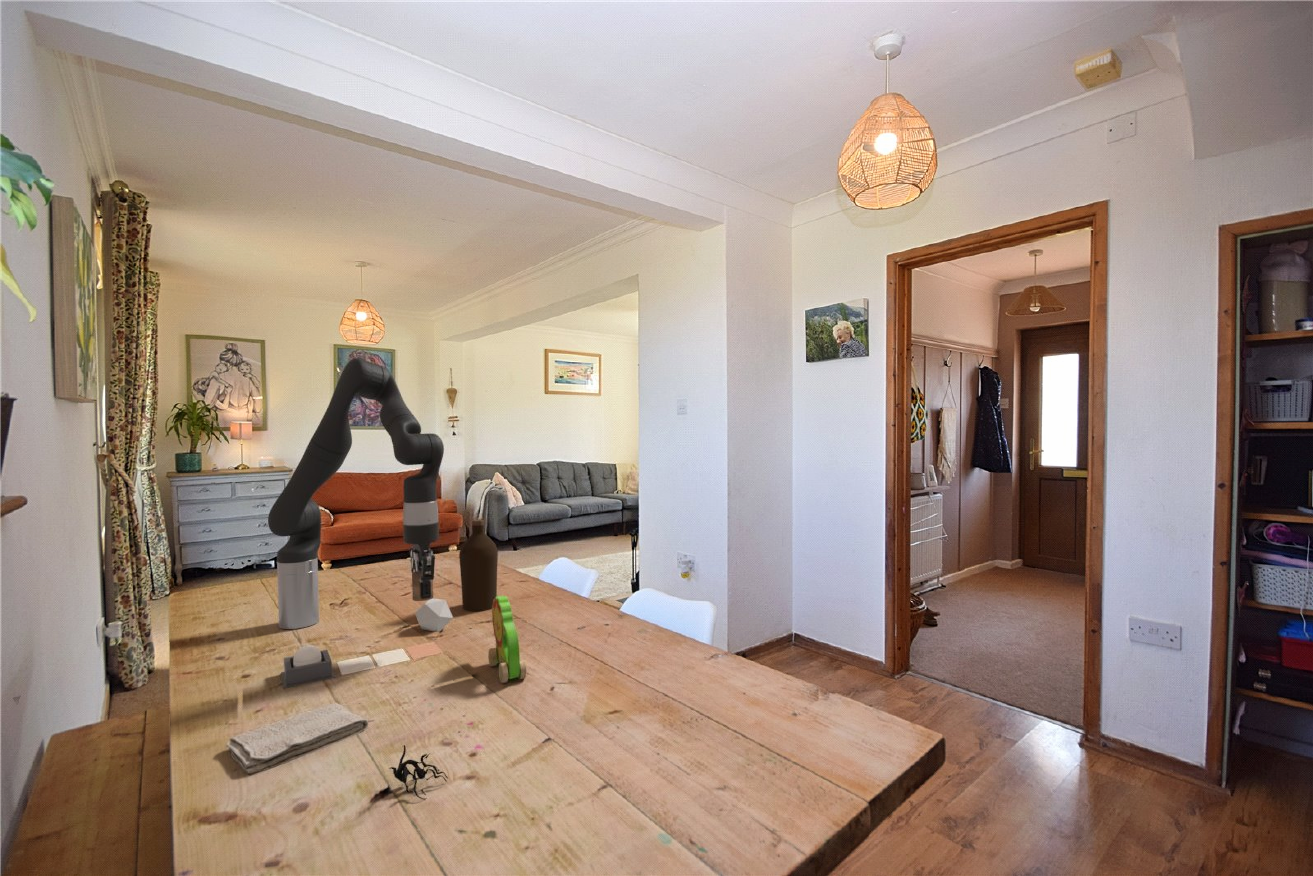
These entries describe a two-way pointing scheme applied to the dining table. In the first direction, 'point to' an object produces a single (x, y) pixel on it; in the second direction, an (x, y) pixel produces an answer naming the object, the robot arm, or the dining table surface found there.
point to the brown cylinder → (417, 587)
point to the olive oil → (478, 569)
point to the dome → (306, 656)
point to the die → (434, 615)
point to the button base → (307, 671)
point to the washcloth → (294, 737)
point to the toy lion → (505, 642)
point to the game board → (388, 658)
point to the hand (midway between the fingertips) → (422, 595)
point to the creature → (417, 770)
